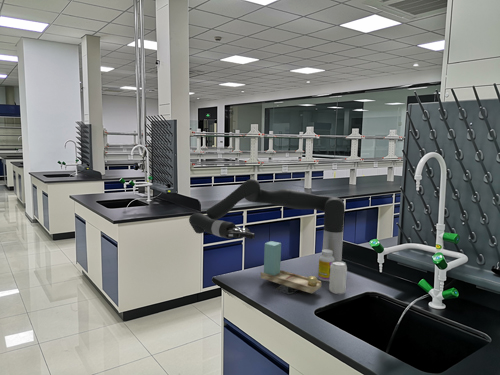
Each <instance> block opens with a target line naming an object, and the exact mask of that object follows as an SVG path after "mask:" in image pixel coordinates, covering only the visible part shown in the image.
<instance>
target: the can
mask: <svg viewBox="0 0 500 375" xmlns="http://www.w3.org/2000/svg"><path fill="white" fill-rule="evenodd" d="M347 272H348V267H347V263H346V262H344V261H343V260H341V261H332V264H331V267H330V281H329V286H328V290H329V292H330V293H331V294H335V295H343V294H345V293H346V289H347V288H346V286H347Z"/></svg>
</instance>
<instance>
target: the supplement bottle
mask: <svg viewBox="0 0 500 375" xmlns="http://www.w3.org/2000/svg"><path fill="white" fill-rule="evenodd" d="M332 254H333V251H332V250H328V249H324V250H323V249H322V250H321V255H320V256H319V258H318V274H317V276H318V277H317V279H318V280H319V281H321V282H330V267H331V264H332V261H335V259H334V257H333V256H332Z"/></svg>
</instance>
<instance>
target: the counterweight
mask: <svg viewBox="0 0 500 375" xmlns="http://www.w3.org/2000/svg"><path fill="white" fill-rule="evenodd" d="M307 277H308V286H311V287H316V286H317V280H318V277H317V276H314V275H309V276H307Z"/></svg>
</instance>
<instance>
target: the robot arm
mask: <svg viewBox="0 0 500 375" xmlns="http://www.w3.org/2000/svg"><path fill="white" fill-rule="evenodd" d="M244 199H245V200H246V201H248V202H252V203H257V204H258V203H260V204H261V203H262V204H270V205H274V206H279V207H284V208H289V209H294V210H315V211H321V212H323V213H324V215H323V237H322V238H323V240H322V250H324V249H328V250H332V251H333V254H332V256H333V257H334V259H335V261H342V258H343V256H342V255H343V240H344V239H343V238H344V226H345V212H346V211H345V209H346V207H345V203H344V200H343V199H341V198H340V197H336V196H327V195H317V194H313V193H309V192H305V191H300V190H297V189H291V188H282V189H277V190H276V189H275V190H267V189H264V188H261V185H260V183H259V181H258V180H256V179H253V178H250V179H247V180H246V181H244V182H243V183H241V184H240V185H239V186H238V187H237V188H236V189H235V190H233V191H232V192H231V193H230V194H229V195H227V196H226V197H224V198H223V199H221V200H220V201H219V202H217V203H215V204H213V205H212V206H211V207H209V208H207V209H206V215H205V214H203V213H201V212H195V213H192V214H191V215H190V216H189V218H188V221H189V225H190V226H191V227H192V229H193V232H195V234H203V233H207V234H211V235H214V236H216V237H220V238H224V239H228V240H231V239H245V238H247V239H251V240H252V239H255V233H254V232H251V231H250V228H249V229H248V227H244V228H242V227H240V226H236V224H235V223H233V222H231V221H225V220H219V219H221V218H223V217H224V216H226V215H227V214H228V213H229V212H230V211H231V210H233V208H234V207H235V206H236V205H237V204H238V203H239V202H240V201H242V200H244Z"/></svg>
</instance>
